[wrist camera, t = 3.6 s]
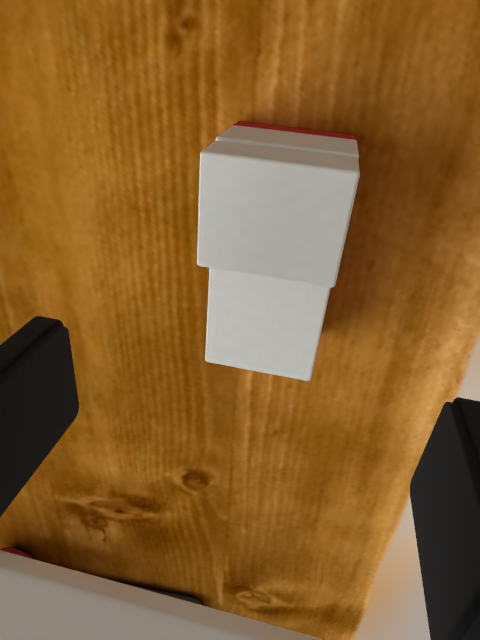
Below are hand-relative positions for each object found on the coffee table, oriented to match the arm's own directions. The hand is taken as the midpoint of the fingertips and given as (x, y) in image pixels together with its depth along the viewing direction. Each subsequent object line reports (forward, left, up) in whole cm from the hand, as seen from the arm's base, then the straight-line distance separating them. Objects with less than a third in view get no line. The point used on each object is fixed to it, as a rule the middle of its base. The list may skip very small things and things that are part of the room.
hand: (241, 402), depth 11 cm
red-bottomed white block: (0, 0, -10) cm, 10 cm away
